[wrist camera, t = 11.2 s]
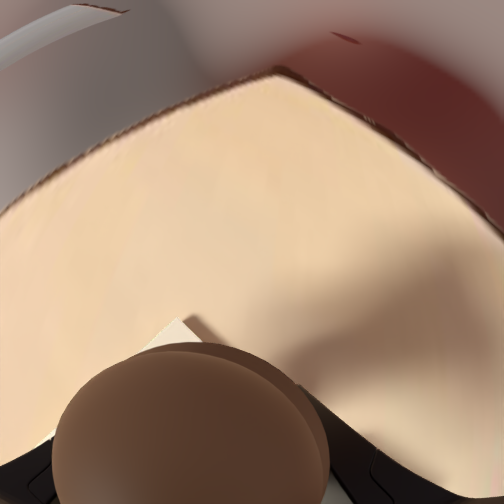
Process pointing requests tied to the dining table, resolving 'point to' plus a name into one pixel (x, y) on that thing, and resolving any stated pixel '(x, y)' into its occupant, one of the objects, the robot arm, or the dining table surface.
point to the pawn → (190, 433)
